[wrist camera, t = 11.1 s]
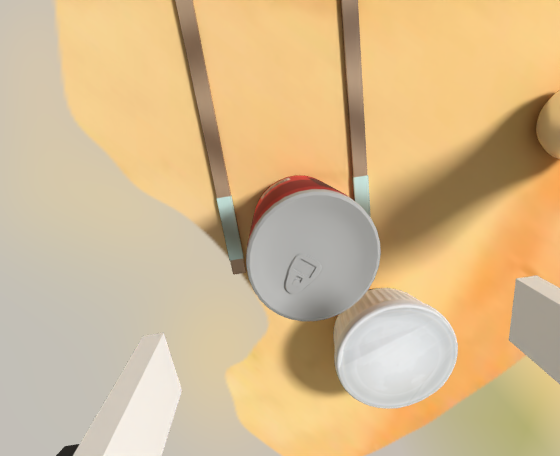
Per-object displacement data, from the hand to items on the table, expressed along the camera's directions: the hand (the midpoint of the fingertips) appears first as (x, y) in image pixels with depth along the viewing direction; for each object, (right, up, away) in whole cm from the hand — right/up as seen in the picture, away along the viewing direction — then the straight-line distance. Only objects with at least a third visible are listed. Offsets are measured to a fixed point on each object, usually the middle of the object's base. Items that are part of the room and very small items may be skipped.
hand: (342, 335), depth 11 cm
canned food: (-1, +5, +16) cm, 17 cm away
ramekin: (+8, -6, +21) cm, 23 cm away
